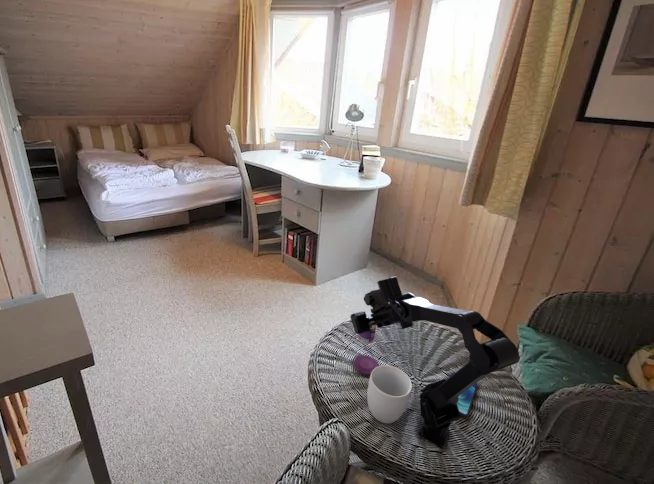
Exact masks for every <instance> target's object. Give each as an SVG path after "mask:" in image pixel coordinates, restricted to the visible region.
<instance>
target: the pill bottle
mask: <svg viewBox="0 0 654 484" xmlns="http://www.w3.org/2000/svg"><path fill="white" fill-rule="evenodd" d="M365 313H366V316H367V318H368V317H369V319H370V318H373V317H371V314H373V313H371V312H365ZM371 322H374V321H371ZM371 322H370V323H371ZM370 329H371V330H370V331H367V332H364V333H360V334H357V340H358V341H359V342H360V343H362V344H365V345H371V344H373V343H374V340H375V336H376V329H377V324H376V325H373V326H372V328H370Z"/></svg>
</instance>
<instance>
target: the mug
mask: <svg viewBox="0 0 654 484" xmlns="http://www.w3.org/2000/svg"><path fill="white" fill-rule="evenodd" d="M412 389H413V384H412V381H411V378H410V376H409V375H408V374H407V373H406V372H405V371H403V370H402V369H401V368H399V367H396V366H394V365H388V364H382V365H379V366H378V367H376V368H374V369H373V371H372V372H371V375H370V376H369V379H368V383H367V390H366V391H367V393H366V399H367V405H368V409H369V412H370V413H371V415H372V416H373V418H374V419H376V420H377V421H378V422H379V423H383V424H392V423H394V422H396V421H397V420H398V419H400V418H401V417H402V415H403V414H404V412H406V411H405V410H406V409H407V406H408V404H409V401H410V397H411V393H412V391H413V390H412Z"/></svg>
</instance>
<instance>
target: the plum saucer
mask: <svg viewBox="0 0 654 484" xmlns="http://www.w3.org/2000/svg"><path fill="white" fill-rule="evenodd" d="M378 366H380V365H379V363H378V361H377V360H376V358H374V357H372V356H369V355H365V354H362V355H357V356H356V357H355V358H354V360H353V367H354V369H355V371H356V372H357V373H359V374H361V375H364V376H369V377H370V375H371V372H372V371H373V369H374V368H376V367H378Z"/></svg>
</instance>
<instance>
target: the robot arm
mask: <svg viewBox="0 0 654 484" xmlns="http://www.w3.org/2000/svg"><path fill="white" fill-rule="evenodd" d="M376 283H377V286H378V289H373V290H370V291H369V292H367V293H365V294H364V297H363V301H364V303H365V304H366V306H368V307H369V306H370V307H371V308H370V313H372V314H371V317H373V318H370V319H369V317H368V318H367V316H366V313H367V312H366V311H364V310H362V311H358V312H353V313H351V314H350V321H351V324H352V327H353V330H354V333H355V334H356V335H358V334H360V333H364V332H367V331H370V330H371V329H370V328H372V326H373V325H376V328H377V329H379V328H383V327H389V326H392V325H396V324H399V325H400V327H401V329H402V330H404V329H408V328H412V327H413V324H414V323H413V322H422V321H423V322H429V323H433V324H437V325H440V326H441V325H442V326H445V327H450V328H454V329H457V330H458V331H459V333H460V334H461V335H462V340H463V344H464V347H465V349H466V350H467V351H468V353H469V355H468V358H469V360H468V362H467V363H466V364H464V365H463V366H461V368H460V369H458V370H457V371H456V372H454V373H455V374H454V375H452V376H451V375H450V377H449V378H447V379H446V378H445V377H444V378H441V379H438V380H435V381H433V382H430V383H427V384H426V385H425V387H424V388H422V389H420V394H419V404H420V405H419V409H420V416H421V418H422V419H423V422H422V425H421V427H420V429H419V431H418V435H419V436H420V437H422V438H424V439H425V440H427V441H428V442H429V443H432V445H433V444H434V445H435V446H437V447H438V448H440V449H441V450H442V449H444V447H445V445H446V442H447V441H448V437H449V434H450V432H451V431H450V430H449V429H450V427H451V423H453V422H455V421H459V420H460V419H462V415H461V414H460V412H459V409H458V406H457V402H458V401H459V395H461V394H462V393H463V392H465V391H466V390H468V389H469V388H470V387H472V386H473V385H474V384H476V383H477V384H478V383H479V382H480V381H481V380H483V379H484V378H485V377H487V376H488V375H490V374H492V373H494V372H496V371H500V370H502V369H505V368H507V367H510V366H512V365H515V364H517V363H519V361H520V360H521V356H520V352H519V348H518V347H517V346H516V344H515V343H514V342H513V341H512V340H511V339H510V338H509V336H507V334H506V333H505V332H504V331H503V330H502V329H501V328H499V327H497V326H496V325H495V324H493V323H491V322H489V321H488V320H486V319H485V317H484V316H483V315H482V314H481V313H480V312H478V311H476V310H465V309H461V308H454V307H449V306H443V305H438V304H433V303H431V302H430V301H429V300H428V299H426V298H424V297H421V296H416V295H415V294H413V293H412V292H406V293H403V292H402V289H401V287H400V284H399V280H398V277H397V276H392V277H388V278H386V279H385V278H384V279H380V280H378V281H376ZM371 321H374V322H371ZM370 322H371V323H370ZM474 330H476V331H477V332H479V333H481V334H482V335H483V336H484V337H486V338H488V339H490V340H488V341H487V340H486V341H484V342H482V343H480V342H479V341H478V339H477V338H476V335H475V331H474Z"/></svg>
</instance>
